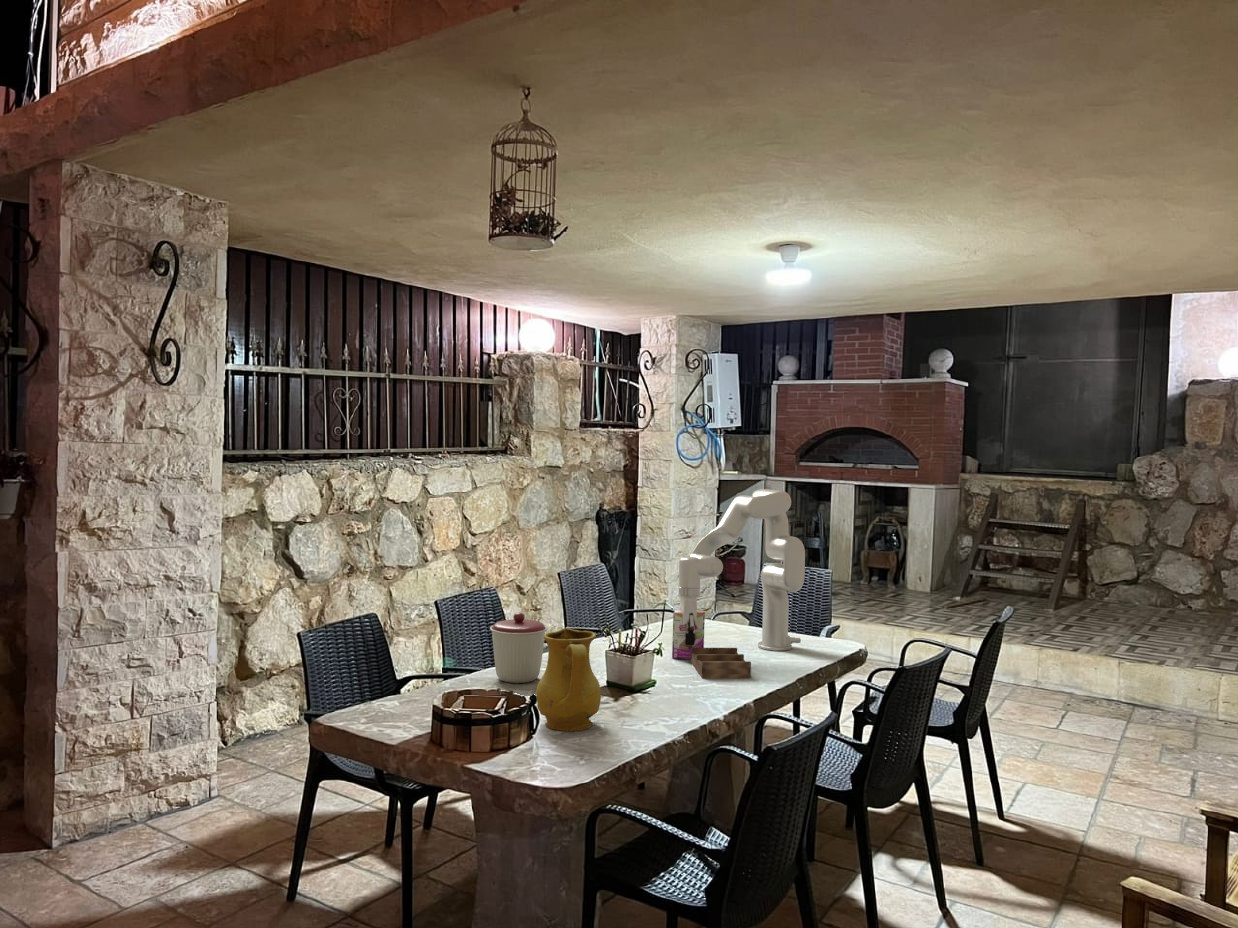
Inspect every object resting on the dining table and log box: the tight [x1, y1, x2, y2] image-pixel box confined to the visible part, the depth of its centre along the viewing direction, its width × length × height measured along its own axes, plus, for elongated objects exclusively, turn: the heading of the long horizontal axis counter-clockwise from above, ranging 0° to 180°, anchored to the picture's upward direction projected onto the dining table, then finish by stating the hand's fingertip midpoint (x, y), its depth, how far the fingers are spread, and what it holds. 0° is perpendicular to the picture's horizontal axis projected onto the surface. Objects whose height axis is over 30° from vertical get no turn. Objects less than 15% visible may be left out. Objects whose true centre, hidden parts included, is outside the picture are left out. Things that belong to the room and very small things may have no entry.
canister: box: [489, 612, 548, 684], centre depth 279 cm, size 18×18×21 cm
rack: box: [690, 647, 752, 679], centre depth 296 cm, size 16×21×5 cm
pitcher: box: [535, 627, 602, 732], centre depth 234 cm, size 17×19×25 cm
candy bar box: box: [671, 609, 706, 660], centre depth 312 cm, size 11×5×16 cm, turn 84°
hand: (688, 642), depth 312 cm, fingers closed on candy bar box, 5 cm apart
